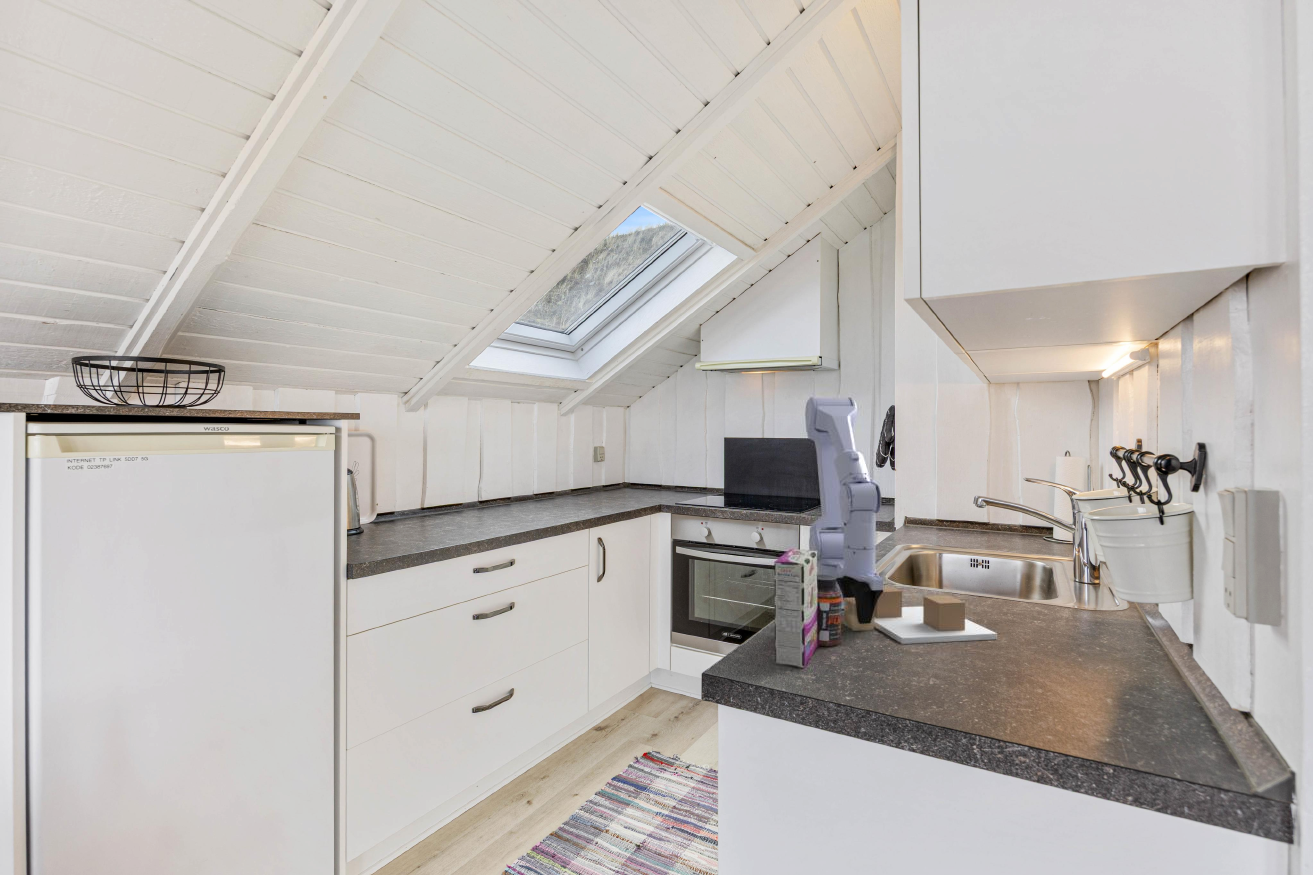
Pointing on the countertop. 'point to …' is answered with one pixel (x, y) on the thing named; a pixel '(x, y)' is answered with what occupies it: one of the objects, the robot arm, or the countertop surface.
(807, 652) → the candy bar box
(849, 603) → the block
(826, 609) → the supplement bottle
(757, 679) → the countertop surface
